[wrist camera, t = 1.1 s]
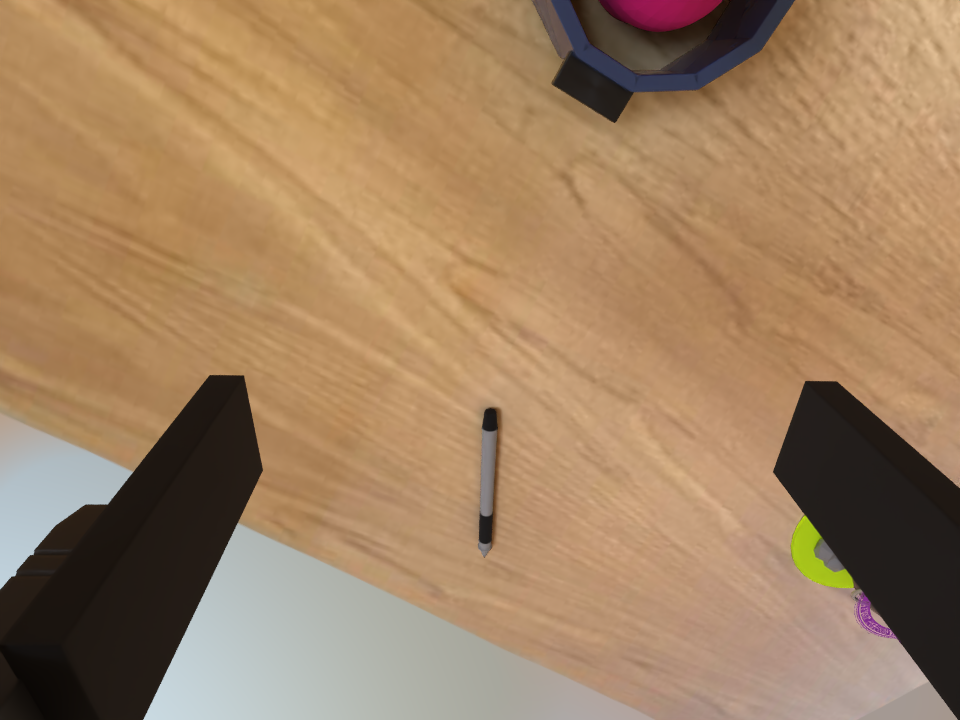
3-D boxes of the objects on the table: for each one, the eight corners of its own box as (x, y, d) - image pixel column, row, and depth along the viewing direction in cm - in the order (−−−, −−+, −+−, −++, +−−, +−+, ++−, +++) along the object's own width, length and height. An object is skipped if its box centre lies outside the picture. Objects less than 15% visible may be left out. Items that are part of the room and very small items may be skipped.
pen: (498, 406, 45) (499, 415, 44) (491, 552, 53) (491, 563, 52) (481, 406, 45) (482, 415, 44) (477, 552, 53) (477, 563, 52)
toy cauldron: (765, 578, 56) (829, 688, 46) (835, 460, 49) (928, 561, 39) (902, 592, 57) (991, 701, 48) (989, 479, 50) (1115, 581, 40)
